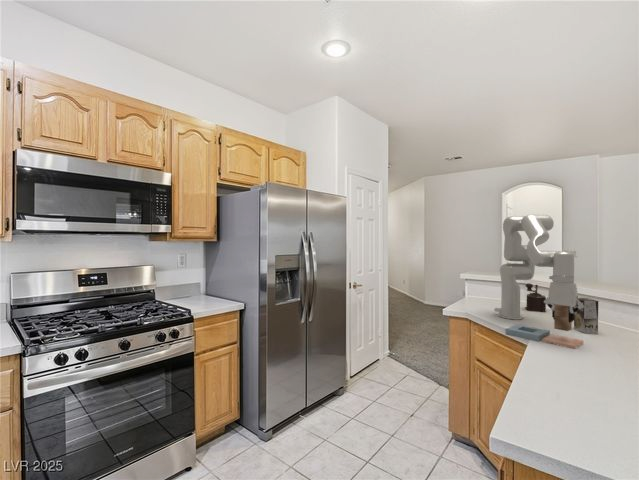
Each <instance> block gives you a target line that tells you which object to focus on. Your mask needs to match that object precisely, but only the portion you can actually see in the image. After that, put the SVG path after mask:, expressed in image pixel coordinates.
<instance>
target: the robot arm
mask: <svg viewBox="0 0 639 480" xmlns="http://www.w3.org/2000/svg"><path fill="white" fill-rule="evenodd" d="M554 222H555V221H554V220H553V218H552V217H551V216H550V215H547V214H528V215H512V216H511V215H510V216H506V218H505V219H504V220H503V223H502V231H503V235H504V245H503V246H504V247H503V256H504V257H503V258H504V260H505V261H508V262H507V263H503V264H502V265H501V266H500V267H499V275H500V281H501V282H500V283H501V294H500V295H501V302H500V304H501V307H500V308H499V307H494V312H498V317H499V318H502V319H506V320H519V321H520V320H523V319H524V316H523V315H522V314H521V287H520V285H519V283H518V282H517V281H529V280H532V279H533V278H534V276H535V269H536V267H538V268H552V275H550V276H549V277H548V278H549V280H552V281H550V284H549V289H548V296H547V297H546V299H545V300H544V303H545V304H546V306H547V307H548V308H550V311H551V312H552V313H551V314H552V315H551V317H552V318H553V320H554V306H555V305H562V306H568V307H569V310H570V313H569V322H572V323H574V313H575V312H576V311H578V310H580V309H582V308H584V305H583V304H582V303H581V302H580V301H579V300H578V298H579V292H578V287H577V283H575V254H574V253H573V252H570V251H562V250H561V251H560V250H539V249H538V246H541V245H542V244H545V243H546V242H547V241H548V240H549V239H550V234H549V232H548V231H551V230H552V229H553V228H554V226H555V224H554ZM520 232H525V234H526V236H527V238H528V239H529V241H528V242H527V244H522V241H523V238H522V235H521V234H520ZM509 262H515V263H509ZM518 262H522V263H518ZM576 305H578V307H576V308H574V306H576Z"/></svg>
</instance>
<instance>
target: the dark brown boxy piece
mask: <svg viewBox="0 0 639 480" xmlns="http://www.w3.org/2000/svg"><path fill="white" fill-rule="evenodd" d="M538 286H539V285H538V284H535V287H534V285H533V284H532V283H526V284H525V288H526V291H527V292H529V293H527V294H526V303H525V305H526V306H525V307H524V308H525V310H526V311H530V312H537V313H546V312H547V311H546V310H547V309H546V307H547V304H545V303H544V300H545V299H547V297H546V295H543V294H541V293H539V292H538V289H539V288H538ZM533 287H534V289H535V290H533Z"/></svg>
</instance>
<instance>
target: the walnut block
mask: <svg viewBox="0 0 639 480" xmlns="http://www.w3.org/2000/svg"><path fill="white" fill-rule="evenodd" d="M569 313H570V310H569V307H568V306H562V305H555V306H554V319H553V321H554V323H553V325H554V326H553V329H555V330H560V331H565V332H569V331H571V330H572V329H573V328H572V327H573V326H572V325H573V324H572V323H573V322H569Z"/></svg>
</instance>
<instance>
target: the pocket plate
mask: <svg viewBox="0 0 639 480" xmlns="http://www.w3.org/2000/svg"><path fill="white" fill-rule="evenodd" d="M550 331H551V330H550V329H546V328H545V329H543V328H540V327H535V326H529V325H523V324H518V323H516V324H514V325H512V326H508V327H507V328H505V335H509V336H512V337H513V336H514V337H518V338H523V339H525V340H527V339H528V340H531V341H535V340H536V342H541V341H542V339H543V338H545V337H547V336H549V335H551V333H550Z"/></svg>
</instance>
